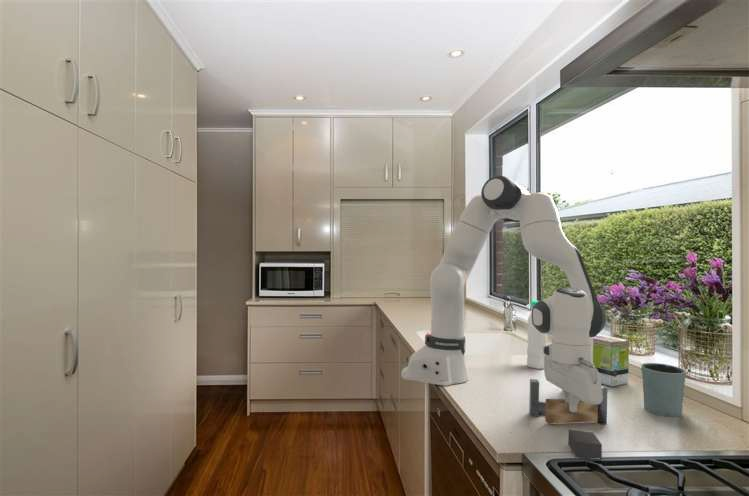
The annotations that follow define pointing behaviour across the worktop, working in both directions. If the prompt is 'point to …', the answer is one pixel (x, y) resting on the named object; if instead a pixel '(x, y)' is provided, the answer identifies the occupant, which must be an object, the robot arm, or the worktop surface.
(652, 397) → the grey green cup
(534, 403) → the post
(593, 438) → the block
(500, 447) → the worktop surface
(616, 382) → the tea box
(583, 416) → the gate
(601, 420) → the hinge post
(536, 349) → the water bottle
